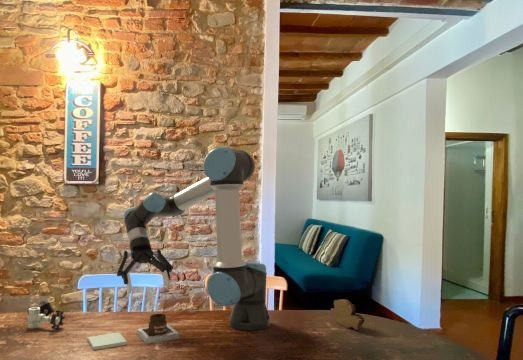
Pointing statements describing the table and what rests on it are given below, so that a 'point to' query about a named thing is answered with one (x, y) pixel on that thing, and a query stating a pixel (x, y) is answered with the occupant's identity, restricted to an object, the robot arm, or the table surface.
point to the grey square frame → (159, 338)
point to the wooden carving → (347, 314)
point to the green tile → (106, 341)
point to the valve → (44, 318)
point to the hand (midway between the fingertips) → (149, 289)
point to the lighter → (45, 308)
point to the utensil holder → (158, 322)
